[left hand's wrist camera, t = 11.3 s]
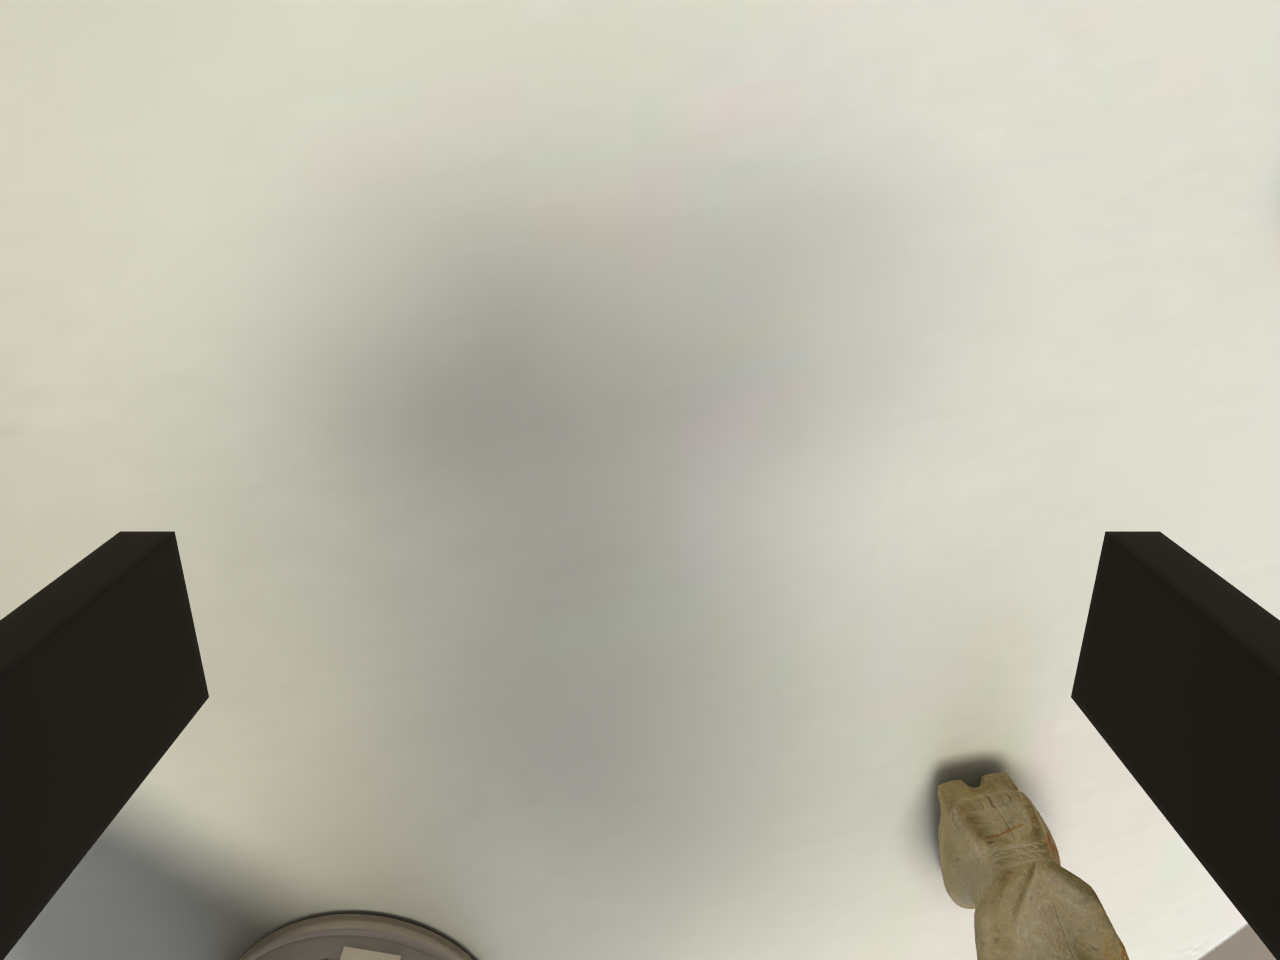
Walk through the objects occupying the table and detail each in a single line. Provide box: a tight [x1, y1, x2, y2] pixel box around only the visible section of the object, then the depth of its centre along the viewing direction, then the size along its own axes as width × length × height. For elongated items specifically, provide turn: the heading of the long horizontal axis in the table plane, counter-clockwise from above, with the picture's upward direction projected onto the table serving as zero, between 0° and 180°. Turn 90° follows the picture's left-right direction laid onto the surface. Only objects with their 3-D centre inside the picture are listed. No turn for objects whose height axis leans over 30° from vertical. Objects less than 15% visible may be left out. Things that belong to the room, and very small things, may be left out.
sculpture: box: [937, 772, 1129, 960], centre depth 37 cm, size 6×7×15 cm
